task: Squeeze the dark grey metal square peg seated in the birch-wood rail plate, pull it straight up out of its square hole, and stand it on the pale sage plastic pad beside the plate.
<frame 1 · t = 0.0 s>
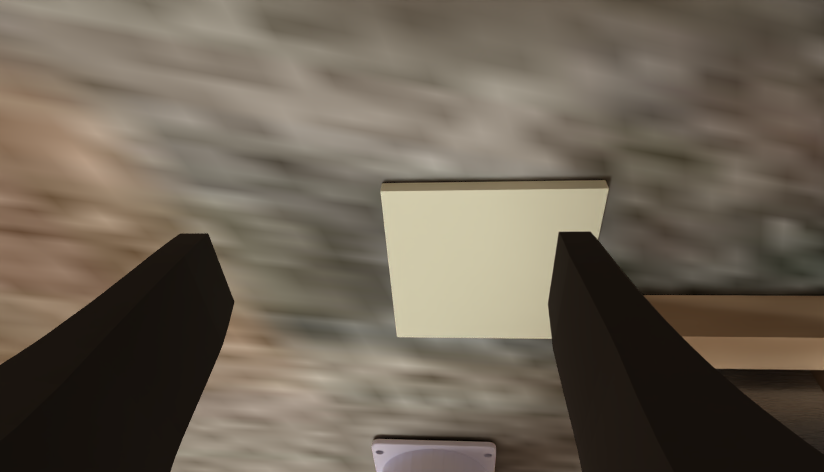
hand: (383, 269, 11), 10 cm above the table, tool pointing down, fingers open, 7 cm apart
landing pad: (488, 263, 24), on the table
square peg: (769, 432, 25), in the rail plate
rail plate: (734, 362, 28), on the table
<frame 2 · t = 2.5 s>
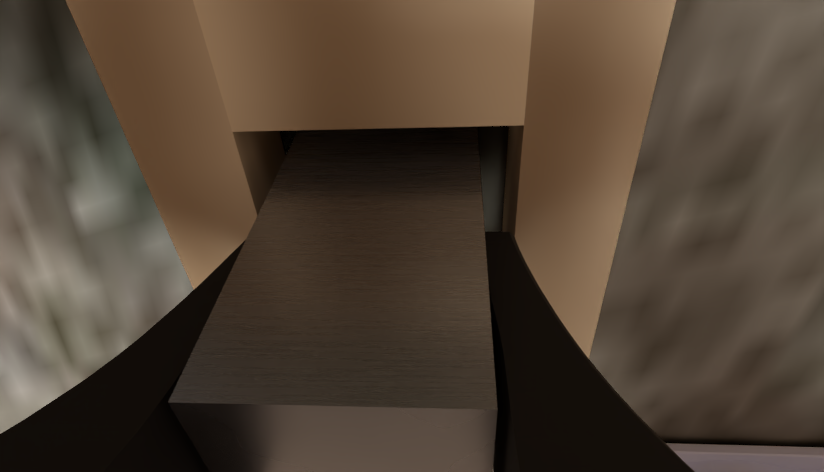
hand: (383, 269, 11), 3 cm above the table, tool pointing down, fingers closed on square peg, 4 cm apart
square peg: (380, 288, 11), in the rail plate, touching gripper
rail plate: (396, 180, 14), on the table
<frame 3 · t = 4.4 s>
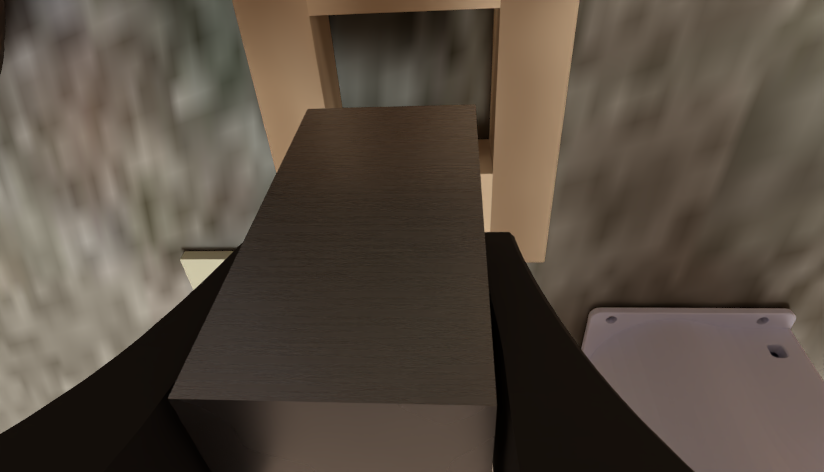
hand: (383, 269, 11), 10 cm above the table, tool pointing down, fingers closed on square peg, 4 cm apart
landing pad: (294, 315, 28), on the table
square peg: (380, 286, 11), point 11 cm above the table, touching gripper
rail plate: (413, 71, 19), on the table
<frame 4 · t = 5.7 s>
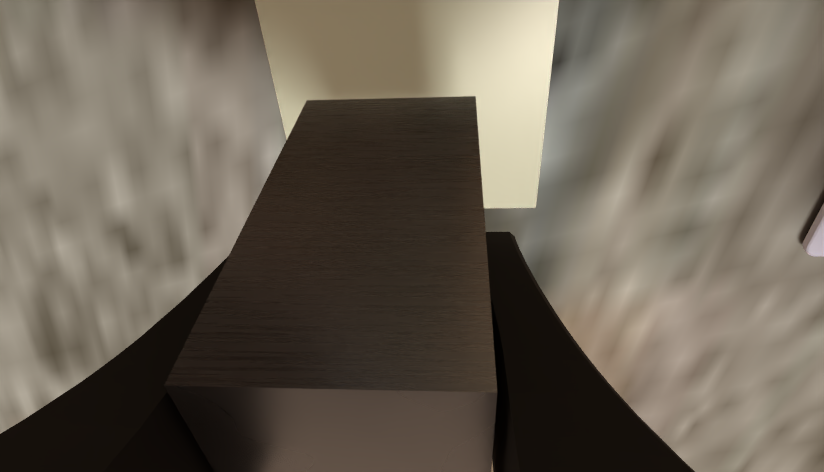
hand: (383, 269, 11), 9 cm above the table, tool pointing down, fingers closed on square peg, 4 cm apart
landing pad: (411, 91, 18), on the table
square peg: (379, 277, 11), point 9 cm above the table, touching gripper
when the fingers open (5 cm above the table, at t = 6.7 s): square peg drops 1 cm, resting on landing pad.
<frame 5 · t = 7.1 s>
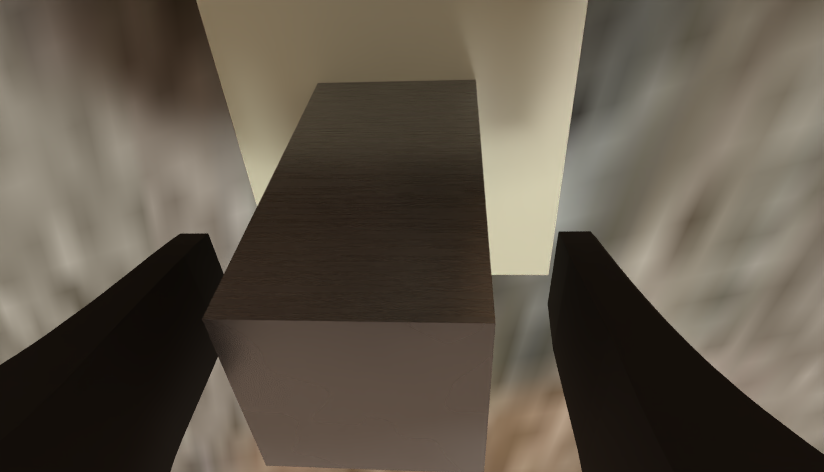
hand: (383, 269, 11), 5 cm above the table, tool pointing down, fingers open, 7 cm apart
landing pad: (402, 145, 15), on the table
square peg: (386, 244, 11), on the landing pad, point 5 cm above the table
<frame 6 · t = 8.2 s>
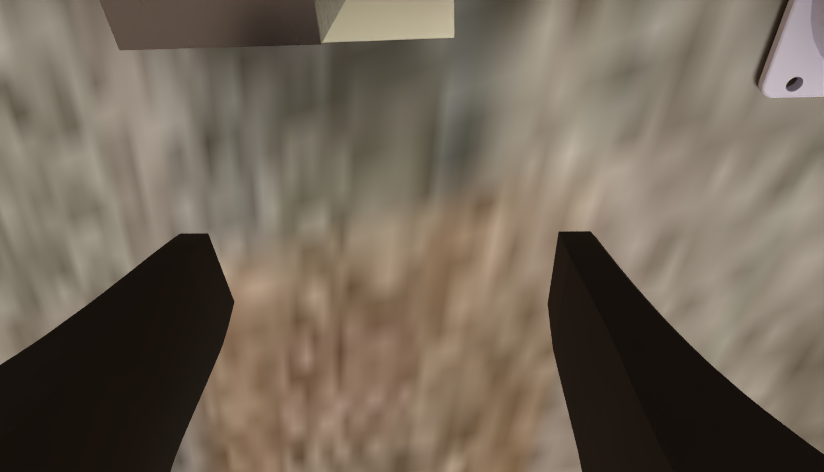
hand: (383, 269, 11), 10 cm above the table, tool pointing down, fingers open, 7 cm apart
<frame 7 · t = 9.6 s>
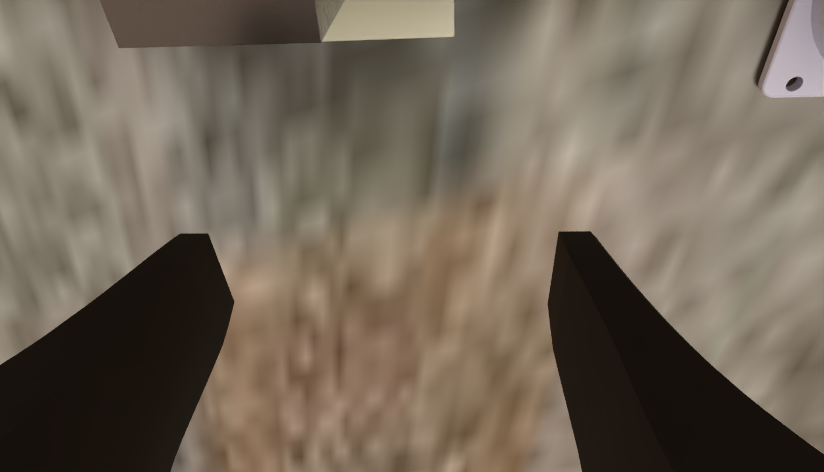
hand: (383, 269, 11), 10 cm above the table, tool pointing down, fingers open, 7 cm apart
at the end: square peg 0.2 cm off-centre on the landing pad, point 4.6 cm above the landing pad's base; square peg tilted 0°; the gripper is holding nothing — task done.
